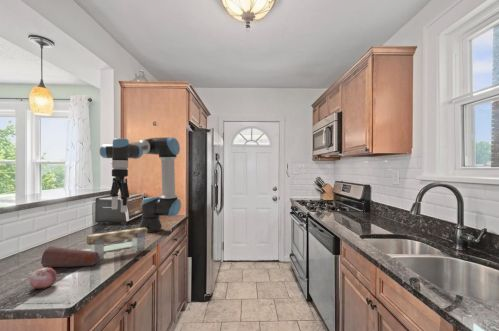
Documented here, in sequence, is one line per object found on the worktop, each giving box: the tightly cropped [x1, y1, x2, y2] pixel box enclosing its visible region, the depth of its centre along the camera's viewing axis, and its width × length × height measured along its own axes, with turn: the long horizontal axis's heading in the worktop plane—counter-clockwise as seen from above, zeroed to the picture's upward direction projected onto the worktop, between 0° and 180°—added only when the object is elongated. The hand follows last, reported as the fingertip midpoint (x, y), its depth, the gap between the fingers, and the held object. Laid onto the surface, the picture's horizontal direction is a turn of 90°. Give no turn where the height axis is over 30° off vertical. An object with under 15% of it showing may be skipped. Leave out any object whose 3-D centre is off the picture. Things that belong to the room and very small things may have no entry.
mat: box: [83, 241, 132, 253], centre depth 150 cm, size 32×10×1 cm, turn 133°
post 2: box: [131, 232, 146, 253], centre depth 149 cm, size 4×7×10 cm, turn 44°
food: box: [40, 245, 101, 269], centre depth 124 cm, size 21×9×9 cm, turn 102°
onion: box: [29, 267, 58, 290], centre depth 101 cm, size 8×8×7 cm
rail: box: [86, 227, 148, 246], centre depth 142 cm, size 28×4×4 cm, turn 133°
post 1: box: [89, 238, 105, 260], centre depth 135 cm, size 4×7×10 cm, turn 44°
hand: (119, 210), depth 142 cm, fingers open, 13 cm apart
